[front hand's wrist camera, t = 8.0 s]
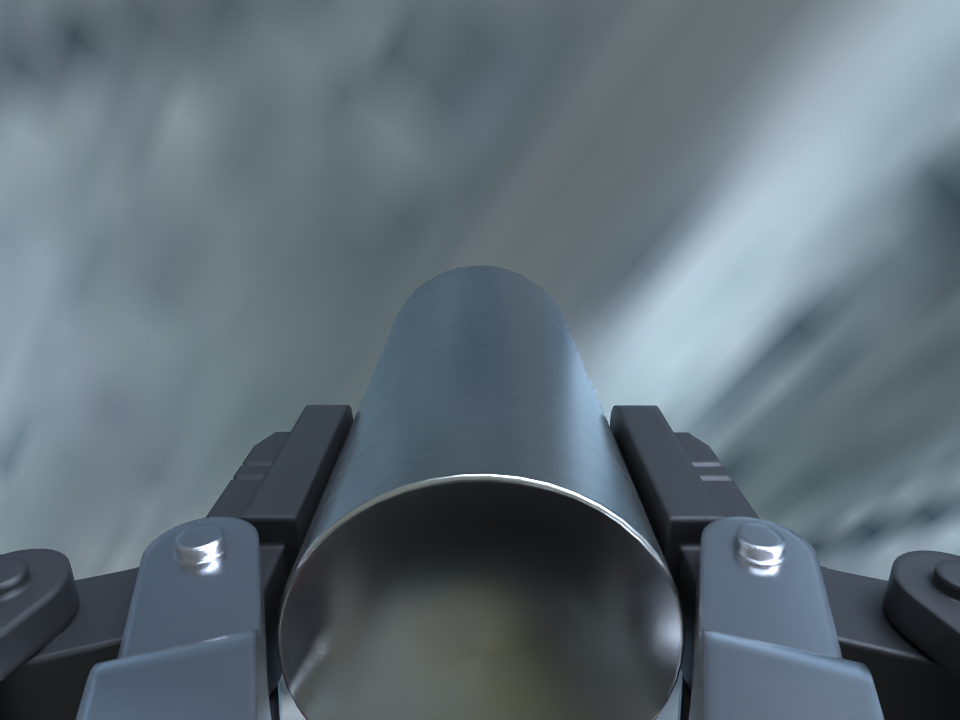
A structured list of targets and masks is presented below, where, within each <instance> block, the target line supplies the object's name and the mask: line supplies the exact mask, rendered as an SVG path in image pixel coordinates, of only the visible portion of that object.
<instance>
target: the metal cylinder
mask: <svg viewBox="0 0 960 720" xmlns="http://www.w3.org/2000/svg"><path fill="white" fill-rule="evenodd" d="M684 643H685V623H684V613H683V608H682V604H681V600H680V595H679V592H678V590H677V587H676V585H675V583H674V580H673V578H672V575H671V573H670V570H669V568H668V566H667V563H666V561H665V558H664V556H663V554H662V551H661V549H660V546H659V544H658V542H657V539H656V537H655V535H654V532H653V530H652V527H651V525H650V523H649V520H648V518H647V515H646V513H645V511H644V508H643V506H642V503H641V501H640V499H639V496H638V494H637V491H636V489H635V487H634V484H633V482H632V479H631V477H630V475H629V472H628V470H627V467H626V465H625V463H624V460H623V458H622V456H621V453H620V451H619V448H618V446H617V444H616V441H615V439H614V436H613V434H612V432H611V429H610V427H609V424H608V422H607V420H606V417H605V415H604V412H603V410H602V408H601V405H600V403H599V400H598V398H597V396H596V393H595V391H594V388H593V386H592V384H591V381H590V379H589V377H588V374H587V372H586V369H585V367H584V365H583V362H582V360H581V357H580V355H579V353H578V350H577V348H576V345H575V343H574V341H573V338H572V336H571V333H570V331H569V329H568V326H567V324H566V321H565V319H564V317H563V314H562V313H561V311H560V309H559V308H558V306H557V304H556V303H555V302H554V301H553V299H552V298H551V297H550V296H549V295H548V294H547V293H546V292H545V291H544V290H543V289H542V288H541V287H540V286H538V285H537V284H536V283H534V282H533V281H532V280H530V279H528V278H526V277H524V276H523V275H521V274H518V273H516V272H513V271H510V270H507V269H503V268H499V267H492V266H468V267H461V268H457V269H453V270H450V271H447V272H445V273H442V274H440V275H438V276H436V277H434V278H432V279H431V280H429V281H427V282H426V283H424V284H423V285H422V286H421V287H419V288H418V289H417V290H416V291H415V292H414V293H413V294H412V295H411V296H410V297H409V298H408V299H407V301H406V302H405V304H404V305H403V306H402V308H401V310H400V311H399V313H398V315H397V317H396V319H395V322H394V324H393V326H392V329H391V331H390V334H389V336H388V338H387V341H386V343H385V346H384V348H383V351H382V353H381V355H380V358H379V360H378V363H377V365H376V368H375V370H374V372H373V375H372V377H371V380H370V382H369V384H368V387H367V389H366V392H365V394H364V397H363V399H362V401H361V404H360V406H359V409H358V411H357V413H356V416H355V418H354V421H353V423H352V426H351V428H350V430H349V433H348V435H347V438H346V440H345V443H344V445H343V447H342V450H341V452H340V455H339V457H338V459H337V462H336V464H335V467H334V469H333V472H332V474H331V476H330V479H329V481H328V484H327V486H326V488H325V491H324V493H323V496H322V498H321V501H320V503H319V505H318V508H317V510H316V513H315V515H314V518H313V520H312V522H311V525H310V527H309V530H308V532H307V534H306V537H305V539H304V542H303V544H302V547H301V549H300V551H299V554H298V556H297V559H296V561H295V563H294V566H293V568H292V571H291V573H290V576H289V578H288V580H287V583H286V586H285V589H284V592H283V595H282V598H281V601H280V606H279V611H278V617H277V649H278V655H279V662H280V668H281V671H282V674H283V677H284V680H285V683H286V686H287V688H288V690H289V692H290V694H291V696H292V698H293V700H294V702H295V704H296V706H297V707H298V709H299V710H300V712H301V713H302V714H303V716H304V717H305V719H306V720H655V719H656V718H657V717H658V715H659V713H660V712H661V710H662V709H663V707H664V706H665V704H666V703H667V701H668V699H669V697H670V695H671V693H672V690H673V688H674V686H675V684H676V682H677V679H678V675H679V671H680V668H681V664H682V660H683V653H684Z"/></svg>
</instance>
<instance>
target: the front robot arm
mask: <svg viewBox="0 0 960 720" xmlns="http://www.w3.org/2000/svg"><path fill="white" fill-rule="evenodd" d="M352 423H353V415H352V410H351V407H350V406H349V405H307V406H306V407H305V409H304V410H303V412H302V414H301V415H300V417H299V419H298V420H297V422H296V424H295V425H294V427H293V429H292V430H291V432H275V433H274V434H272V435H271V436H269V437H267V438H266V439H264V440H263V441H261V442H260V443H258V444H257V445H255V446H254V447H253V449H252V450H251V452H250V453H249V455H248V456H247V458H246V459H245V460H244V462H243V466H240V468H239V469H238V471H237V472H236V474H235V475H234V480H231V481H230V483H229V484H228V485H227V487H226V488H225V490H224V491H223V493H222V494H221V496H220V497H219V499H218V500H217V502H216V503H215V505H214V506H213V508H212V509H211V510H210V512H209V513H208V515H207V516H206V518H203V519H198V520H194V521H190V522H187V523H184V524H182V525H179V526H177V527H175V528H173V529H171V530H168V531H167V532H165V533H164V534H162V535H160V536H159V537H158V538H156V539H155V540H154V541H153V542H152V543H151V544H150V545H149V546H148V547H147V549H146V550H145V552H144V553H143V556H142V558H141V563H140V567H137V568H134V569H130V570H126V571H121V572H116V573H111V574H106V575H101V576H96V577H91V578H86V579H81V580H76V581H74V577H73V573H72V569H71V565H70V562H69V560H68V558H67V557H66V556H65V555H63V554H62V553H60V552H57V551H54V550H48V549H28V550H21V551H15V552H11V553H7V554H3V555H0V720H282V706H281V695H280V687H279V680H280V678H281V675H282V671H281V668H280V662H279V655H278V649H277V617H278V611H279V606H280V601H281V598H282V595H283V592H284V589H285V586H286V583H287V580H288V578H289V576H290V573H291V571H292V568H293V566H294V563H295V561H296V559H297V556H298V554H299V551H300V549H301V547H302V544H303V542H304V539H305V537H306V534H307V532H308V530H309V527H310V525H311V522H312V520H313V518H314V515H315V513H316V510H317V508H318V505H319V503H320V501H321V498H322V496H323V493H324V491H325V488H326V486H327V484H328V481H329V479H330V476H331V474H332V472H333V469H334V467H335V464H336V462H337V459H338V457H339V455H340V452H341V450H342V447H343V445H344V443H345V440H346V438H347V435H348V433H349V430H350V428H351V426H352ZM610 429H611V432H612V434H613V436H614V439H615V441H616V444H617V446H618V448H619V451H620V453H621V456H622V458H623V460H624V463H625V465H626V467H627V470H628V472H629V475H630V477H631V479H632V482H633V484H634V487H635V489H636V491H637V494H638V496H639V499H640V501H641V503H642V506H643V508H644V511H645V513H646V515H647V518H648V520H649V523H650V525H651V527H652V530H653V532H654V535H655V537H656V539H657V542H658V544H659V546H660V549H661V551H662V554H663V556H664V558H665V561H666V563H667V566H668V568H669V570H670V573H671V575H672V578H673V580H674V583H675V585H676V587H677V590H678V592H679V595H680V600H681V604H682V608H683V613H684V623H685V643H684V653H683V660H682V664H681V670H682V680H681V687H680V695H679V706H678V720H960V556H957V555H953V554H949V553H943V552H936V551H913V552H908V553H905V554H902V555H901V556H899V557H898V558H897V559H896V560H895V561H894V563H893V566H892V570H891V573H890V577H889V581H885V580H880V579H875V578H870V577H865V576H860V575H855V574H850V573H845V572H840V571H836V570H832V569H828V568H825V567H822V566H820V563H819V558H818V556H817V553H816V552H815V550H814V549H813V547H812V546H811V545H810V544H809V543H808V542H807V541H806V540H805V539H804V538H802V537H801V536H800V535H798V534H796V533H795V532H793V531H792V530H789V529H787V528H785V527H783V526H781V525H778V524H776V523H773V522H770V521H766V520H762V519H759V517H758V516H757V514H756V513H755V512H754V510H753V509H752V507H751V506H750V504H749V503H748V501H747V500H746V499H745V497H744V496H743V494H742V493H741V491H740V490H739V488H738V487H737V485H736V484H735V483H734V481H731V477H730V475H729V474H728V472H727V471H726V470H725V468H724V467H721V462H720V461H719V459H718V458H717V457H716V455H715V454H714V452H713V451H712V449H711V448H710V447H709V446H708V445H706V444H705V443H703V442H702V441H700V440H699V439H697V438H696V437H694V436H692V435H691V434H689V433H673V431H672V429H671V428H670V426H669V424H668V423H667V421H666V419H665V418H664V416H663V414H662V413H661V411H660V409H659V408H658V407H657V406H614V407H613V409H612V412H611V418H610Z"/></svg>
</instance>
